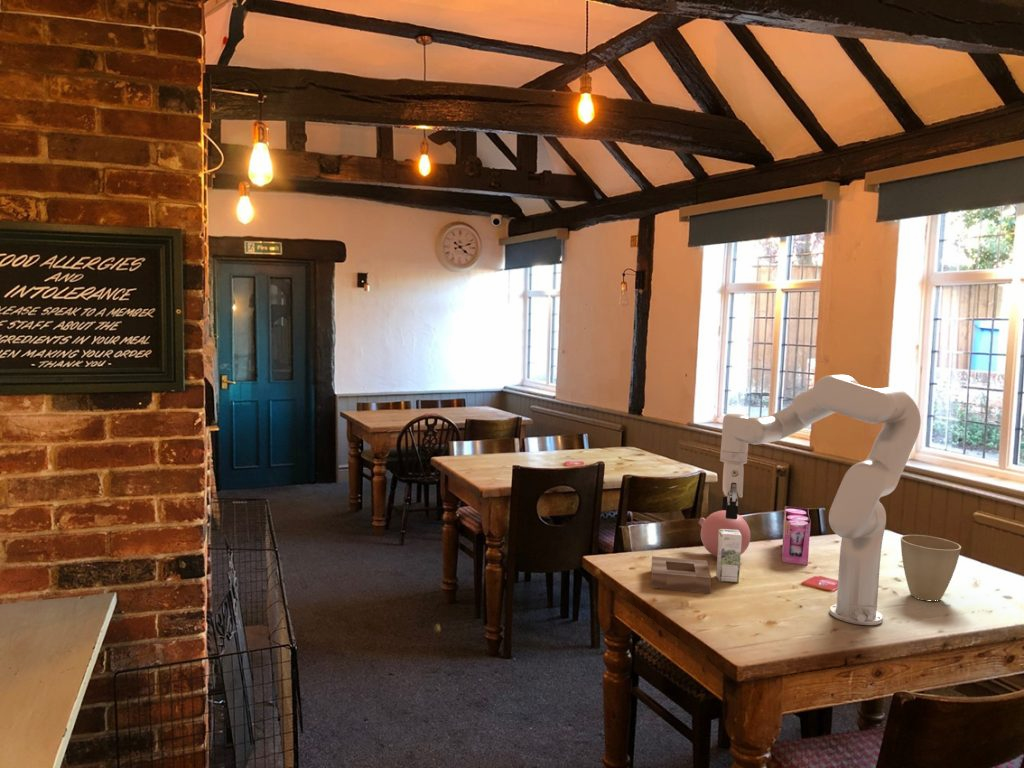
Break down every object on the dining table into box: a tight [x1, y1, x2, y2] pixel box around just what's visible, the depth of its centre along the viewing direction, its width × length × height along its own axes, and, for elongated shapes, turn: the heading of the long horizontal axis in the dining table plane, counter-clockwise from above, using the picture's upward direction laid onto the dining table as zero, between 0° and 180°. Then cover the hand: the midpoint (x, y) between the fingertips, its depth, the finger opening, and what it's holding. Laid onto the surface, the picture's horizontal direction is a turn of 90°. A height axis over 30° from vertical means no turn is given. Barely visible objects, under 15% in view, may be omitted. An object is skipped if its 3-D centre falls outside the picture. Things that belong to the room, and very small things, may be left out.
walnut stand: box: [650, 555, 712, 594], centre depth 222 cm, size 16×16×4 cm
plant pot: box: [900, 534, 962, 601], centre depth 215 cm, size 15×15×16 cm
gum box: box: [781, 506, 811, 566], centre depth 253 cm, size 24×8×14 cm, turn 161°
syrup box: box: [715, 529, 742, 584], centre depth 225 cm, size 6×6×14 cm
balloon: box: [698, 510, 751, 558], centre depth 249 cm, size 15×20×15 cm
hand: (729, 514), depth 224 cm, fingers open, 9 cm apart
